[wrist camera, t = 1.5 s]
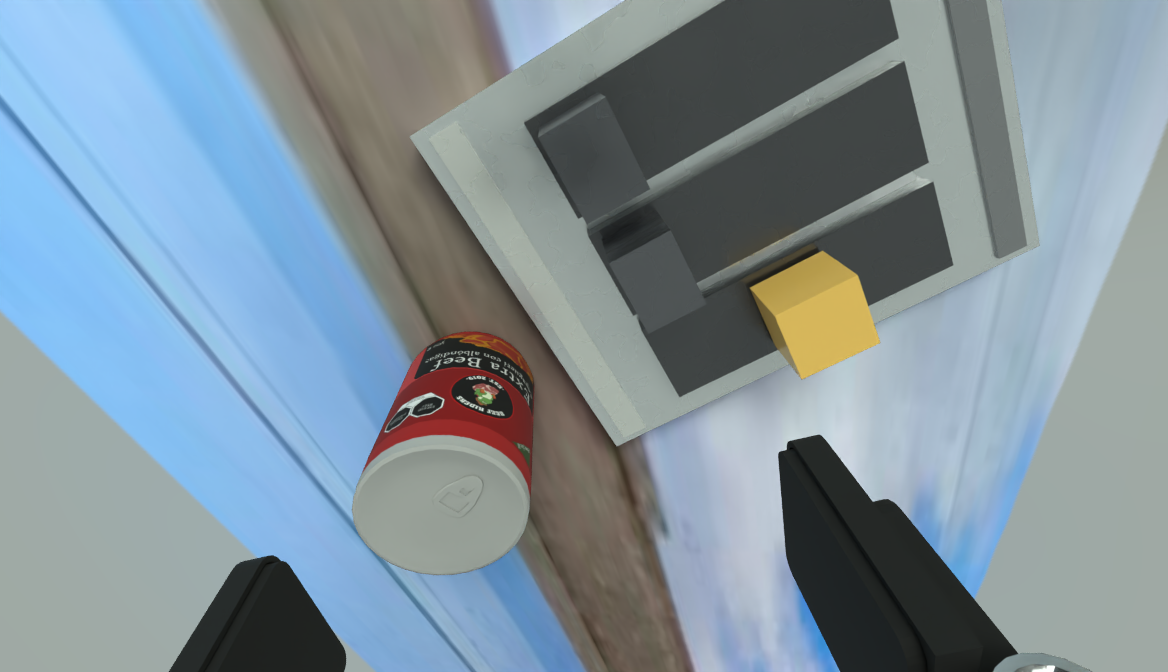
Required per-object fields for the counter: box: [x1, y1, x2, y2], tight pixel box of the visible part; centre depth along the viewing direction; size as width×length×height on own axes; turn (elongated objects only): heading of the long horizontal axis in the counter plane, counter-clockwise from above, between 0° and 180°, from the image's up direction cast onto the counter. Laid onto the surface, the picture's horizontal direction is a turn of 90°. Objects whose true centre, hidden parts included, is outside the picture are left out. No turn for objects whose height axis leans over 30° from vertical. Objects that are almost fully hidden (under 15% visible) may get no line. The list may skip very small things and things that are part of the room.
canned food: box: [352, 332, 534, 575], centre depth 29 cm, size 8×8×11 cm
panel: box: [410, 0, 1040, 446], centre depth 26 cm, size 26×21×6 cm
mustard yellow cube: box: [750, 251, 880, 379], centre depth 27 cm, size 4×4×4 cm
